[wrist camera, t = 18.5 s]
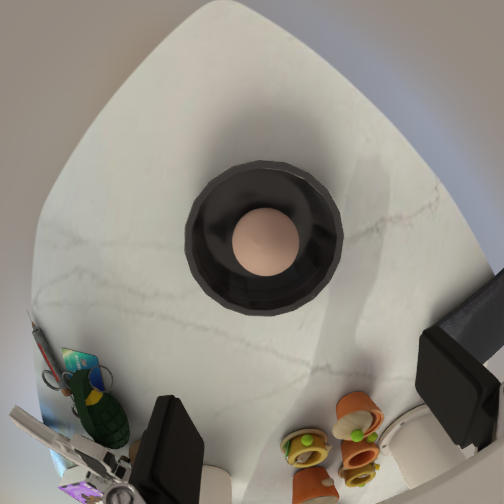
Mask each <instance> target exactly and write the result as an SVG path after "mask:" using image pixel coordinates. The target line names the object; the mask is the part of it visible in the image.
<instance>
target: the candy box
mask: <svg viewBox="0 0 504 504" xmlns="http://www.w3.org/2000/svg"><path fill="white" fill-rule="evenodd" d="M113 484H115V483H113V482H110V481H108V480H106V479H104V478H102V477H100V476H97V475H96V474H94V473H92V472H90V471H88V470H86V469H84V468H82V467H81V466H79V465H78V466H76V467H73V468H70V469H67V470H65V472H64V474H63V476H62V479H61V481H60V484H59V487H58V488H59V489H61V490H62V491H64V492H65V493H67V494H68V495H70V496H72V497H73V498H75V499H76V500H78V501H80V502H81V503H83V504H103V503H102V496H103V494H104V492H105V491H106V489H107V488H108V487H110V486H111V485H113Z"/></svg>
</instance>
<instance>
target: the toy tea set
mask: <svg viewBox="0 0 504 504" xmlns="http://www.w3.org/2000/svg"><path fill="white" fill-rule="evenodd" d="M336 414H337V420H338V421H337V422H336V423H335V425H334V427H333V430H332V432H333V435H334V436H335V437H336V438H338V439H344V441H343V442H342V444H341V451H342V458H343V466H342V467H341V468H340V469H339V471H338V476H339V477H341V478H345V484H346V486H348V487H356V486H359V487H363V486H364V485H365V484H366V483H367V482H369V481H370V480H372V479H373V478H374V477H375V475H376V472H375V470H379V467H380V465H378V464H375V463H374V460H376V459H377V458H378V457H377V456H378V455H379V453H380V450H379V448H378V447H377V445H376V444H375V442H374V441H375V440H376V439H377V437H378V436H377V434H376V433H375V432H374V431H376V430H377V429H378V428H379V426H380V425H381V424H382V422H383V419H384V414H383V413H382V411H381V410H380V409H379V408H378V407H377V406H376V404H375V403H374V402H373V401H372V400H371V399H370V397H369V396H368V395H367V394H366V393H364V392H353V393H350V394H348V395H346V396H344V397H343V398H342V399H341V400H340V401H339V402H338V404H337V406H336ZM280 449H281V451H282V452H283V453H284V454H285V460H286V462H287V464H288V465H289V466H294V467H299V468H303V467H310V466H314V465H316V464H318V463H320V462H322V461H323V460H324V459H325V458H326V457H327V455H328V452H329V451H330V450H331V449H332V446H331V445H330V444H327V436H326V434H325V433H324V432H323V431H321V430H318V429H303V430H299V431H296V432H293V433H291V434H290V435H288V436H287V437H285V438H284V439H283V440H282V442H281V444H280ZM286 457H288V461H287V459H286ZM338 500H339V494H338V492H337V490H336V488H335V486H334V480H333V479H332V478H330V476H329V475H328V473H327V471H326V470H325V469H324V468H322V467H310V468H306V469H303V470H301V471H299V472H297V473H296V474H295V475H294V476H293V498H292V504H335V503H336V502H337V501H338Z"/></svg>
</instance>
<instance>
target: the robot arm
mask: <svg viewBox="0 0 504 504" xmlns="http://www.w3.org/2000/svg"><path fill="white" fill-rule="evenodd" d="M415 387H416V390H417V392H418V394H419V395H420V396H421V398H422V399H423V401H424V402H425V403H426V404H424V405H421V406H418V407H416V408H414V409H412V410H411V411H409V412H407V413H405V414H404V415H403V416H401V417H400V418H398V419H397V420H396V421H395V422H394V423H392V424H391V425H390V426H389V427H388V428H387V430H386V431H385V432H384V433H383V435H382V436H381V438H380V440H379V444H378V447H379V450H380V452H381V453H382V454H383V455H386V456H393V457H394V459H395V461H396V463H397V465H398V467H399V469H400V471H401V473H402V475H403V477H404V479H405V481H406V483H407V485H408V488H409V490H408V491H406V492H404V493H402V494H399V495H397V496H394V497H392V498H389V499H387V500H384V501H382V502H379V503H376V504H504V382H503V383H502V384H501V383H500V382H499V381H498V379H497V378H496V377H495V376H494V375H493V374H492V373H491V372H490V371H489V370H487V369H486V368H485V367H484V366H483V365H482V364H481V363H480V362H479V361H478V360H477V359H476V358H474V357H473V356H472V355H471V354H470V353H469V352H468V351H467V350H466V349H464V348H463V347H462V346H461V345H460V344H459V343H458V342H457V341H455V340H454V339H453V338H452V337H451V336H450V335H449V334H447V333H446V332H445V331H444V330H443V329H442V328H440V327H439V326H438V325H434V326H432V327H429V328H427V329H425V330H423V333H422V335H420V338H419V352H418V363H417V373H416V382H415ZM472 443H473V444H474V446H475V453H474V455H473V456H472V457H470V458H469V459H467V458H466V457H465V455H464V454H463V453H462V451H461V450H460V448H459V447H458V445H459V446H460V447H461V449H463V448H465V447H467V446H469V445H470V444H472ZM203 457H204V441H203V439H202V437H201V436H200V434H199V432H198V431H197V429H196V427H195V426H194V424H193V422H192V420H191V419H190V417H189V415H188V413H187V411H186V410H185V408H184V406H183V404H182V402H181V400H180V399H179V398H175V396H174V395H165V396H159V397H158V398H157V400H156V403H155V406H154V409H153V412H152V415H151V418H150V421H149V424H148V428H147V429H146V430H145V431H144V433H143V435H142V439H141V442H140V445H139V448H138V451H137V454H136V458H135V461H134V464H133V467H132V471H131V474H130V477H129V481H128V483H124V482H122V483H116V484H113V485H111V486H110V487H108V488H107V489H106V491H105V492H104V494H103V496H102V503H103V504H199V498H200V487H201V477H202V467H203Z"/></svg>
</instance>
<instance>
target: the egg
mask: <svg viewBox="0 0 504 504" xmlns="http://www.w3.org/2000/svg"><path fill="white" fill-rule="evenodd" d="M232 246H233V251H234V254H235V256H236V258H237V260H238V261H239V263H240V264H241V265H242V266H243V267H244V268H245V269H246V270H248V271H250V272H251V273H253V274H256V275H260V276H272V275H276V274H278V273H281V272H283V271H284V270H286V269H287V268H288V267H289V266H290V265H291V264H292V263H293V262H294V260H295V258H296V256H297V253H298V250H299V235H298V232H297V229H296V227H295V225H294V224H293V222H292V221H291V220H290V219H289V217H288V216H287V215H285V214H283V213H282V212H280V211H278V210H276V209H272V208H259V209H255V210H252V211H250V212H248V213H247V214H245V215H244V216H243V217H242V218H241V219H240V220H239V222H238V223H237V225H236V227H235V229H234V232H233V237H232Z"/></svg>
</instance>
